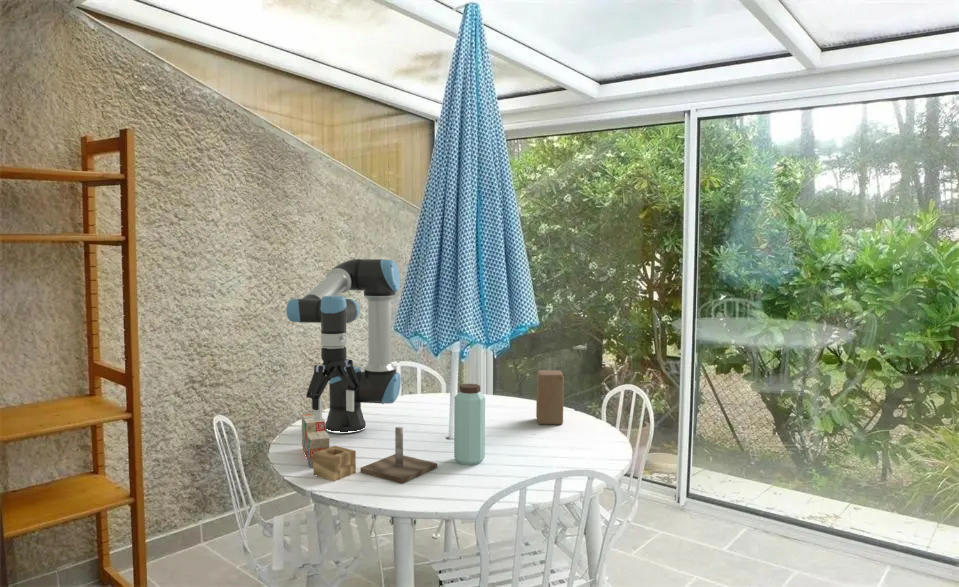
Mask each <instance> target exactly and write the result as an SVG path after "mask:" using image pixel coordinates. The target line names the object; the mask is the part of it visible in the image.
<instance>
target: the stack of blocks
mask: <svg viewBox="0 0 959 587" xmlns="http://www.w3.org/2000/svg"><path fill="white" fill-rule="evenodd" d="M325 423H326V420H324V418H323V417H322V421H317V420H314V413H307V414H304V413H303V414H301V437H302V438H301V444H302V446H301V448H302V447H303V449H302V452H303V451H304V452H303V454H304V453H305V455H306V456H305V455H304V456H305V458H306V457H307V459H306V461H308V462H307V464H308V463H309V464H308V466H309V465H310V466H309V468H310V467H311V468H313V467H312V466H313V453H315V452H318V451H321V450H324V449H327V448H329V447H330V436H329V434H328V432H327V431H326V430H325Z"/></svg>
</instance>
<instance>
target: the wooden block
mask: <svg viewBox="0 0 959 587" xmlns="http://www.w3.org/2000/svg"><path fill="white" fill-rule="evenodd" d="M564 378H565V376H564V374H563V372H562V371H561V370H559V369H558V370H555V369H554V370H553V369H551V370H549V369H548V370H546V369H545V370H544V369H543V370H540V369H539V370H537V371H536V408H535V410H536V411H535V412H536V413H535V415H536V421H537V424H539V425H551V426H552V425H559V426H560V425H562V424H563V423H564V389H565V388H564V384H565V379H564Z"/></svg>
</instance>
